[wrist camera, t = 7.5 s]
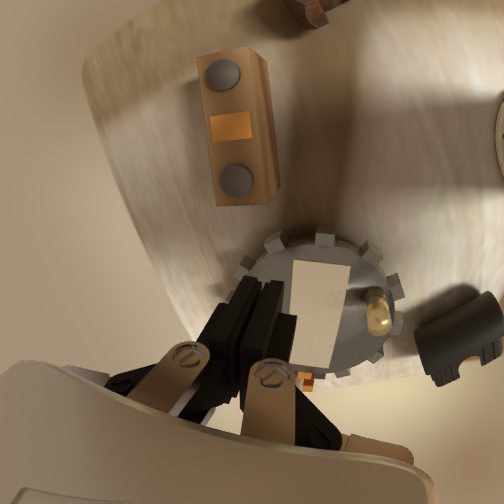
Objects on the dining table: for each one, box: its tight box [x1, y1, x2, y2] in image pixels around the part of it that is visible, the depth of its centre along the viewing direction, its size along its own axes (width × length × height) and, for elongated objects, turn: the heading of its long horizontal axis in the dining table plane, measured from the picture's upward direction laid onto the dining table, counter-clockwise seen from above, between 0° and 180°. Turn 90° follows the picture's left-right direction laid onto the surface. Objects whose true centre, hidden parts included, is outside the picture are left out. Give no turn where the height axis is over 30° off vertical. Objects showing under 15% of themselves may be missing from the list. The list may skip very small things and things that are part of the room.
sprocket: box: [225, 225, 405, 379], centre depth 26 cm, size 18×18×6 cm
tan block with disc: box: [197, 46, 280, 207], centre depth 22 cm, size 4×12×7 cm, turn 6°
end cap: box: [414, 291, 504, 387], centre depth 24 cm, size 10×7×7 cm
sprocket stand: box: [295, 371, 326, 392], centre depth 31 cm, size 6×16×4 cm, turn 4°
